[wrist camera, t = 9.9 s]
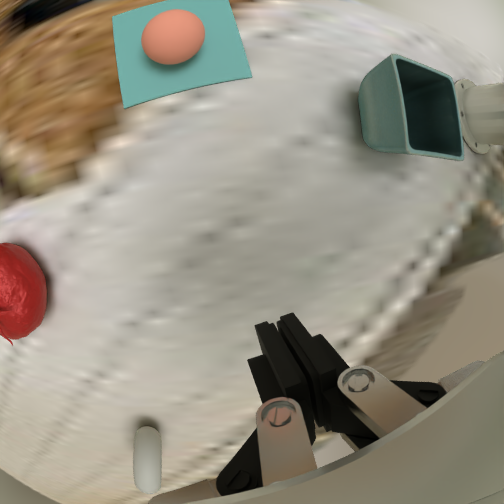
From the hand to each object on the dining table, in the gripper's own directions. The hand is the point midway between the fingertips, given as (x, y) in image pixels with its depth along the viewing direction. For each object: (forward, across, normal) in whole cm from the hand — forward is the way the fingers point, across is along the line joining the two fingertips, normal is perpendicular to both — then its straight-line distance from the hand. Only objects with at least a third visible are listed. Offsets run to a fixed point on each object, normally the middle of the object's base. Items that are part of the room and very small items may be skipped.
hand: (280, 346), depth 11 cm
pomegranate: (+15, +23, -4) cm, 28 cm away
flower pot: (+15, -19, -10) cm, 26 cm away
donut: (+15, +18, +21) cm, 32 cm away
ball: (+12, 0, -21) cm, 24 cm away
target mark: (+15, 0, -22) cm, 27 cm away
